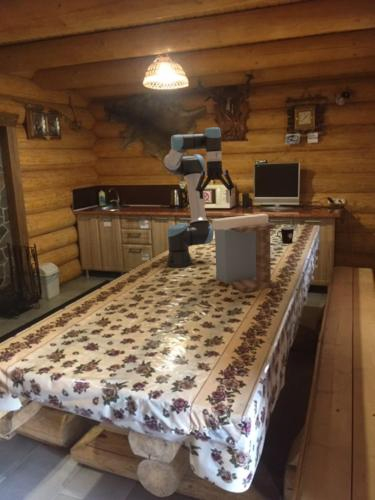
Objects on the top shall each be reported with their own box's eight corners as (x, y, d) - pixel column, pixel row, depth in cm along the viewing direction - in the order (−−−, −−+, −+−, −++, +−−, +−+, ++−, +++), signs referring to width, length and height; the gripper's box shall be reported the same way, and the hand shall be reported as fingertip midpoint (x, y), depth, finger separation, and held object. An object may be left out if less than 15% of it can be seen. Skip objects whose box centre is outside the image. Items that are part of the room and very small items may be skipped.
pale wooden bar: (217, 229, 187) (216, 220, 186) (212, 228, 191) (212, 219, 190) (268, 223, 195) (268, 214, 194) (262, 221, 200) (262, 213, 199)
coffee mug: (292, 241, 291) (292, 226, 288) (294, 243, 282) (294, 229, 280) (275, 241, 292) (275, 227, 290) (277, 244, 284) (277, 229, 281)
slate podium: (226, 283, 207) (224, 230, 201) (216, 277, 218) (214, 226, 212) (256, 278, 212) (256, 226, 206) (245, 272, 224) (244, 222, 217)
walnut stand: (242, 292, 194) (240, 228, 187) (230, 285, 205) (229, 224, 198) (276, 286, 199) (276, 224, 192) (263, 279, 210) (262, 220, 203)
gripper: (193, 162, 197) (195, 207, 202) (240, 159, 206) (241, 202, 210) (187, 162, 204) (189, 205, 208) (233, 159, 213) (234, 201, 217)
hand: (215, 204), depth 209 cm, fingers open, 13 cm apart
